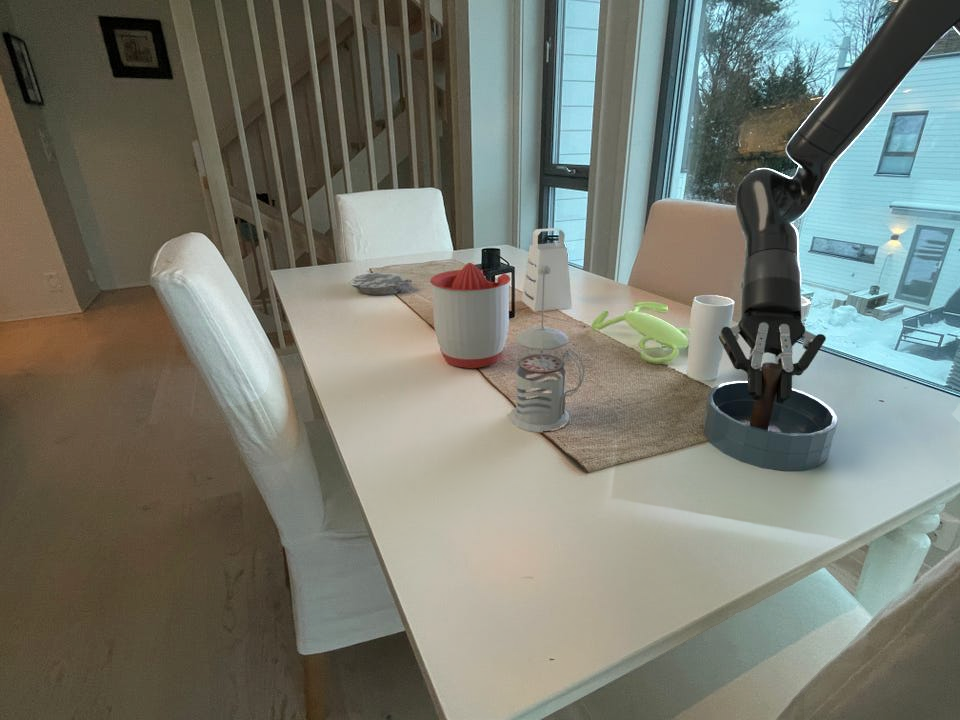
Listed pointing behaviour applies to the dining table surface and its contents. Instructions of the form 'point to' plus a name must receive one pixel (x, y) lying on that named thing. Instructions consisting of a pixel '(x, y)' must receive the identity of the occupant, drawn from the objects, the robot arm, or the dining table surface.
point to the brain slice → (380, 283)
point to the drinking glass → (707, 335)
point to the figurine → (650, 330)
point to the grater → (547, 275)
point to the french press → (546, 406)
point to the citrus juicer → (470, 316)
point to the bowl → (791, 450)
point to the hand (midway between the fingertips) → (769, 399)
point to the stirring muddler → (766, 398)
